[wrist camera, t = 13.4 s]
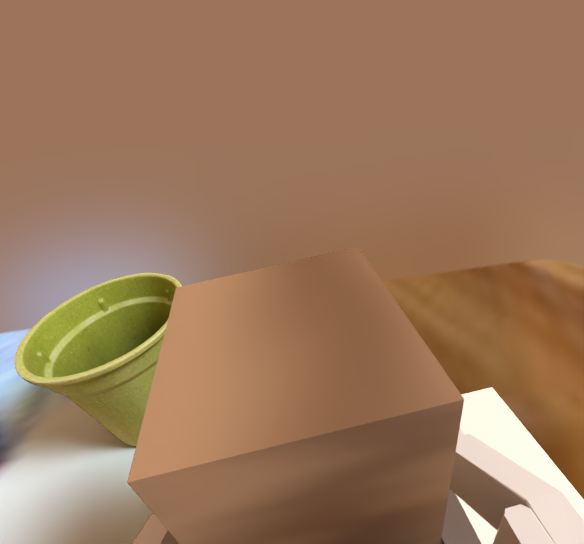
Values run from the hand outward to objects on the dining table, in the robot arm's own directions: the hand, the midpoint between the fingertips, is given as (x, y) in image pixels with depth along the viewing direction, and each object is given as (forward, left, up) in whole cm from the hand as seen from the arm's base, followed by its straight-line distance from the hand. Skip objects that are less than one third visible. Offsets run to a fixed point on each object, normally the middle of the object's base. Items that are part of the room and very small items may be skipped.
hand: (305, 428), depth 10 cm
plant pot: (-10, +11, -10) cm, 18 cm away
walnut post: (0, -1, -7) cm, 7 cm away
